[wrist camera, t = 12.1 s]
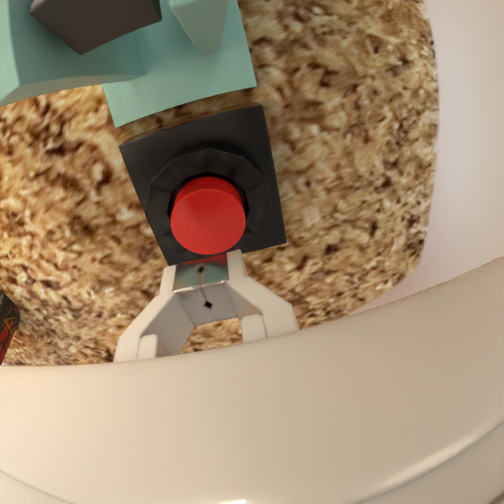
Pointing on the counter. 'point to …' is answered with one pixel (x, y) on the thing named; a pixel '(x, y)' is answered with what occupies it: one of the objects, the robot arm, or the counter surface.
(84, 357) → the counter surface
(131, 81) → the switch bracket
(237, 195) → the button
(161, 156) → the control block
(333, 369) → the robot arm
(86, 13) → the switch lever
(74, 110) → the counter surface
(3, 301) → the deodorant
